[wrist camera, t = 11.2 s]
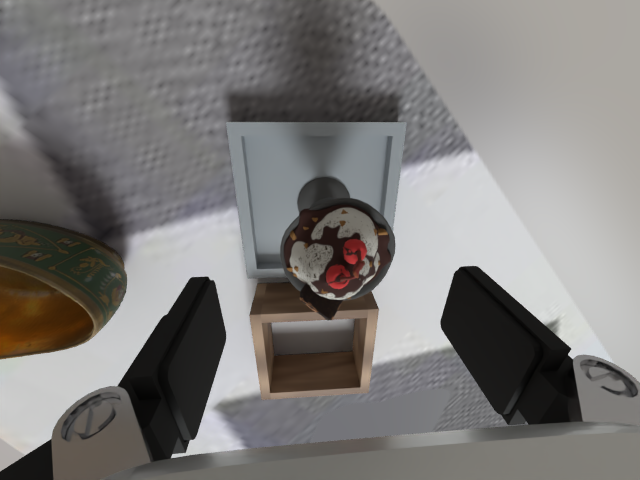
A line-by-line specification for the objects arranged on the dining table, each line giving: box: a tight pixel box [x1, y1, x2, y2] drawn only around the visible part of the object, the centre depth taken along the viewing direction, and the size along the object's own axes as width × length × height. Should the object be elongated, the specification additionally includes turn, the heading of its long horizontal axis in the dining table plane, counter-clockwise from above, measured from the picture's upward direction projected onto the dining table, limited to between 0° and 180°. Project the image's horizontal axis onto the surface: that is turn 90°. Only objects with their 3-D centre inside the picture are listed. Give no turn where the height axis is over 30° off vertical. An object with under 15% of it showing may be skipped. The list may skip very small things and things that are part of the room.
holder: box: [250, 282, 379, 400], centre depth 29 cm, size 12×12×5 cm
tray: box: [226, 122, 407, 278], centre depth 24 cm, size 14×14×2 cm
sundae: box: [280, 177, 395, 320], centre depth 17 cm, size 7×7×15 cm
